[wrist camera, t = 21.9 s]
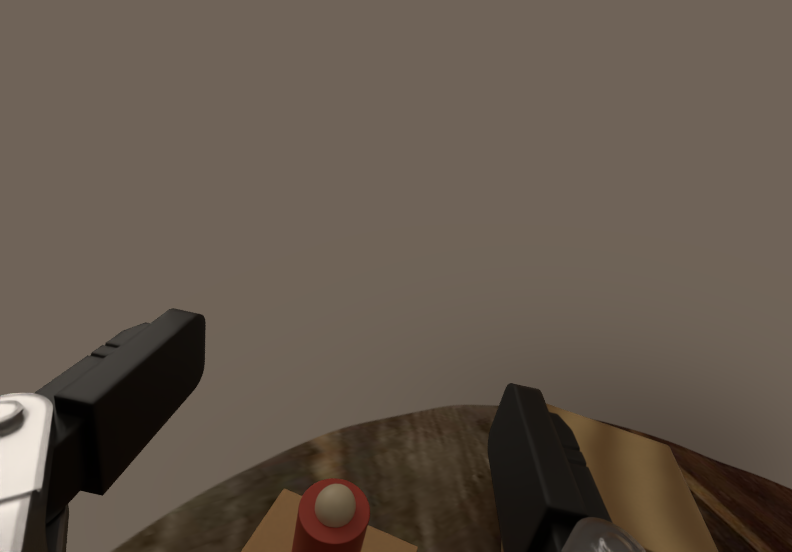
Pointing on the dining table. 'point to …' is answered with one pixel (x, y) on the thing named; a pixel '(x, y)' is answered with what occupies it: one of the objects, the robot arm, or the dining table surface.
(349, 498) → the toy figure
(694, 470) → the dining table surface
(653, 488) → the shelf
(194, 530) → the dining table surface
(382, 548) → the cork mat
